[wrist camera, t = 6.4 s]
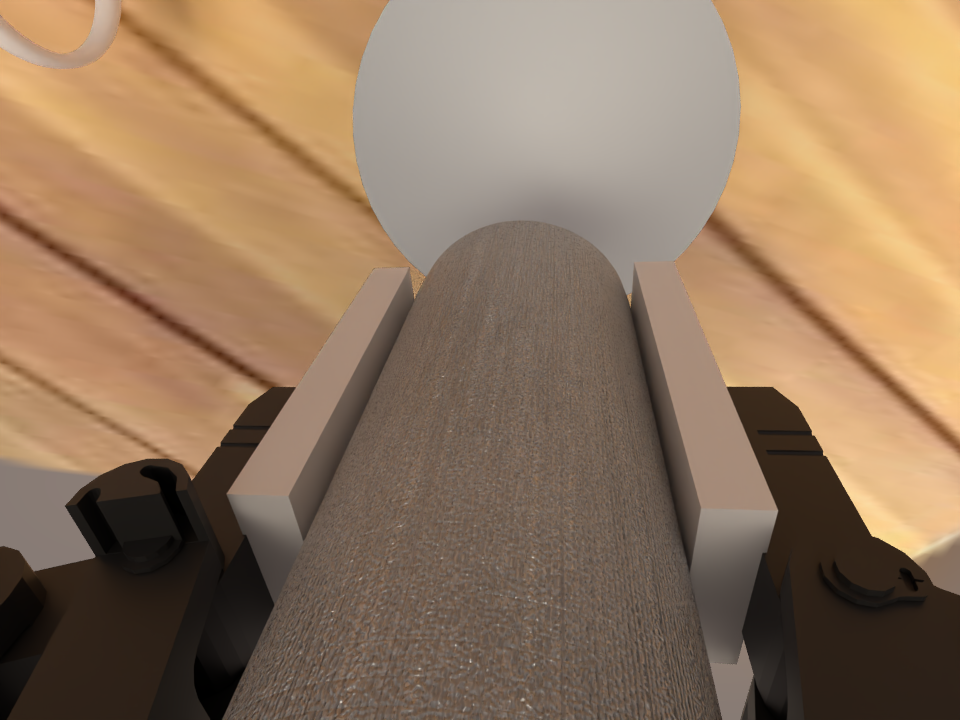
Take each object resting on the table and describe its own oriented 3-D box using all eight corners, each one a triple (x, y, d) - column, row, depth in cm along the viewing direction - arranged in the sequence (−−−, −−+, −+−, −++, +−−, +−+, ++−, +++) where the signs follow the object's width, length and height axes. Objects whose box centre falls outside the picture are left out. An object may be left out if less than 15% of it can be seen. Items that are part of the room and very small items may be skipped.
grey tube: (381, 333, 13) (62, 962, 5) (498, 170, 11) (293, 800, 3) (540, 434, 14) (512, 1101, 6) (675, 302, 12) (959, 1068, 4)
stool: (436, 225, 29) (388, 321, 21) (400, -44, 23) (313, -61, 15) (667, 212, 28) (715, 311, 19) (689, -79, 22) (771, -120, 13)
